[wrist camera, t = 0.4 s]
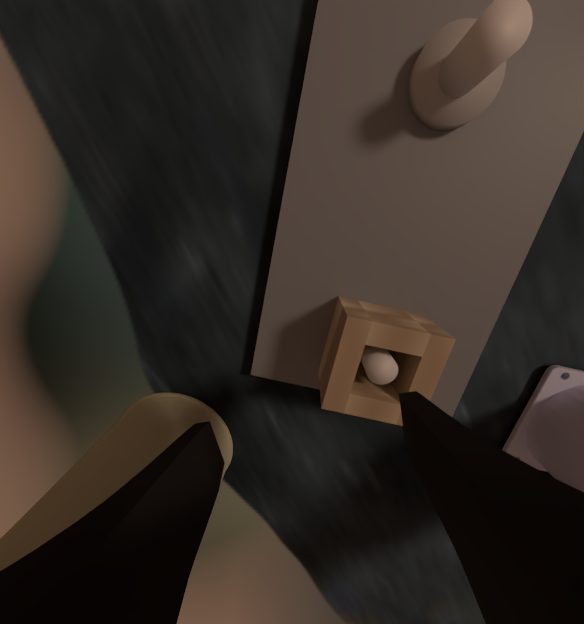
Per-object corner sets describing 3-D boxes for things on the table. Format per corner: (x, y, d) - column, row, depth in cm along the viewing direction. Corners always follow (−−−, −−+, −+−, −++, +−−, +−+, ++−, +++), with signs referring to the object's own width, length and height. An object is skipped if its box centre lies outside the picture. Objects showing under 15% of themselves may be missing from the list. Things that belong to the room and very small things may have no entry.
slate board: (615, 25, 13) (784, -87, 8) (444, 408, 19) (486, 463, 15) (327, -38, 13) (337, -187, 8) (253, 367, 19) (236, 410, 15)
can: (139, 371, 20) (-85, 561, 9) (252, 423, 21) (183, 661, 9) (107, 457, 23) (-98, 690, 11) (208, 501, 23) (112, 760, 12)
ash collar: (422, 314, 16) (455, 339, 13) (395, 386, 18) (418, 429, 14) (338, 296, 16) (347, 316, 13) (318, 370, 18) (321, 408, 14)
